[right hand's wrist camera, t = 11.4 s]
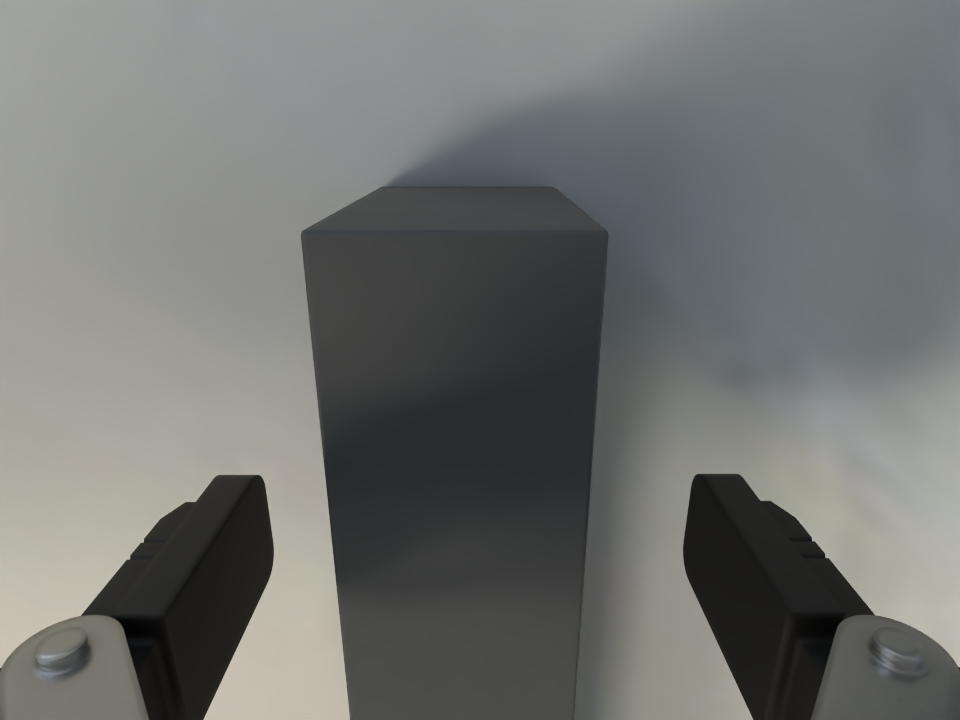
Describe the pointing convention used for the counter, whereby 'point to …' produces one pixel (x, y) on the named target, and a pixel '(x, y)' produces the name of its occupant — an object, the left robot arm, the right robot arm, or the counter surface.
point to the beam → (458, 443)
